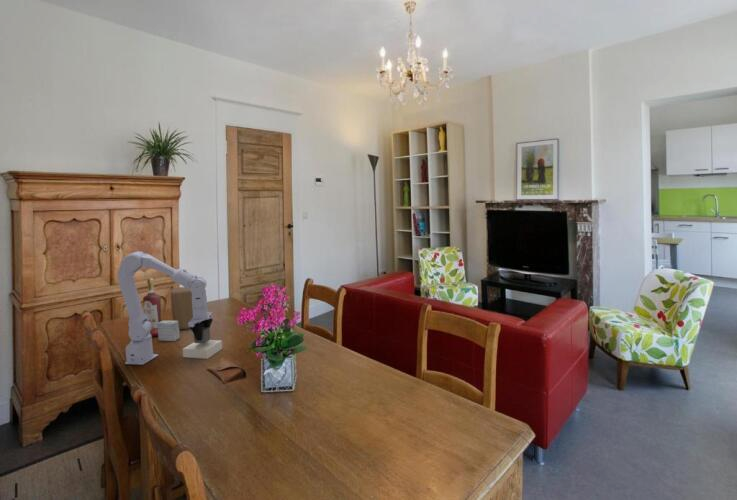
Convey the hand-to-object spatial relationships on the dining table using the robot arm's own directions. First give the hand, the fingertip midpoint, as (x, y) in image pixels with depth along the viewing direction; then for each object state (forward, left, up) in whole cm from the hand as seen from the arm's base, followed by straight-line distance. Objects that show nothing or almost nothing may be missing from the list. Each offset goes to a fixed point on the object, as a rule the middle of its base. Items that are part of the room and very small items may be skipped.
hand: (202, 338), depth 164 cm
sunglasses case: (-17, -19, -7) cm, 27 cm away
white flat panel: (0, 0, -7) cm, 7 cm away
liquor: (+18, +36, -7) cm, 41 cm away
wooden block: (+31, +29, -7) cm, 43 cm away
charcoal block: (0, 0, -1) cm, 1 cm away
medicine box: (+13, +25, -7) cm, 29 cm away
